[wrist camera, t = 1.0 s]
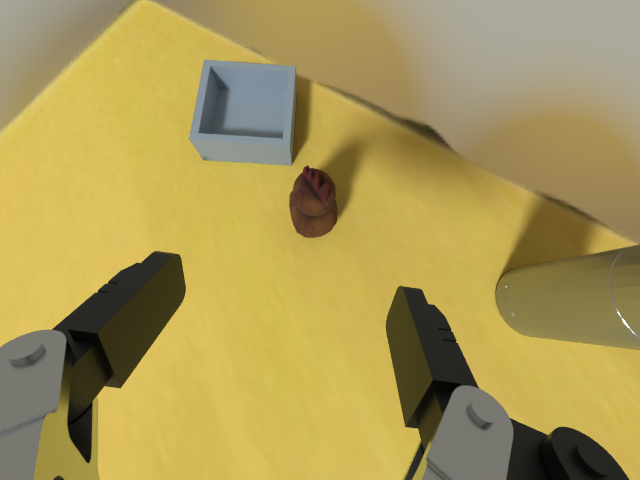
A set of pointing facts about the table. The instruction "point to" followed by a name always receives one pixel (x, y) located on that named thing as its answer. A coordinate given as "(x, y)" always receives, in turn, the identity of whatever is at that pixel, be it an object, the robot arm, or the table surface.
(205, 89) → the slate tray
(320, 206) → the wooden figurine
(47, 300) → the table surface
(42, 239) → the table surface
